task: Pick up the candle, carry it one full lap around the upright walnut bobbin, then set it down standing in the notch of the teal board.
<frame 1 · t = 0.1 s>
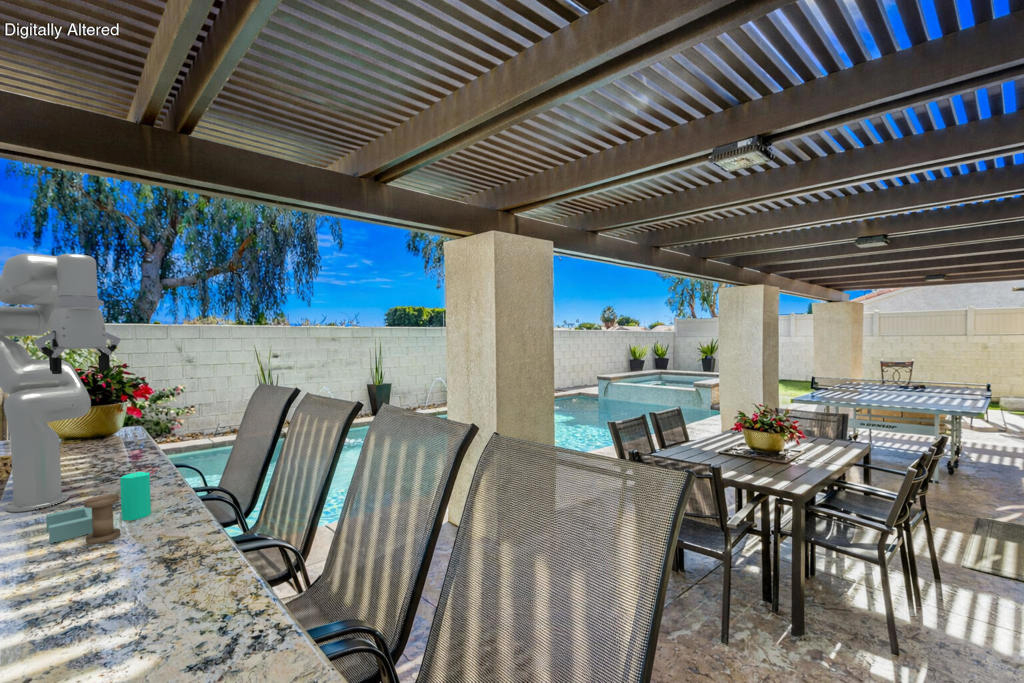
hand: (81, 372, 123), 37 cm above the outdoor bar counter, tool pointing down, fingers open, 9 cm apart
candle: (136, 516, 123), on the outdoor bar counter
bobbin: (103, 538, 110), on the outdoor bar counter
notch board: (74, 530, 115), on the outdoor bar counter
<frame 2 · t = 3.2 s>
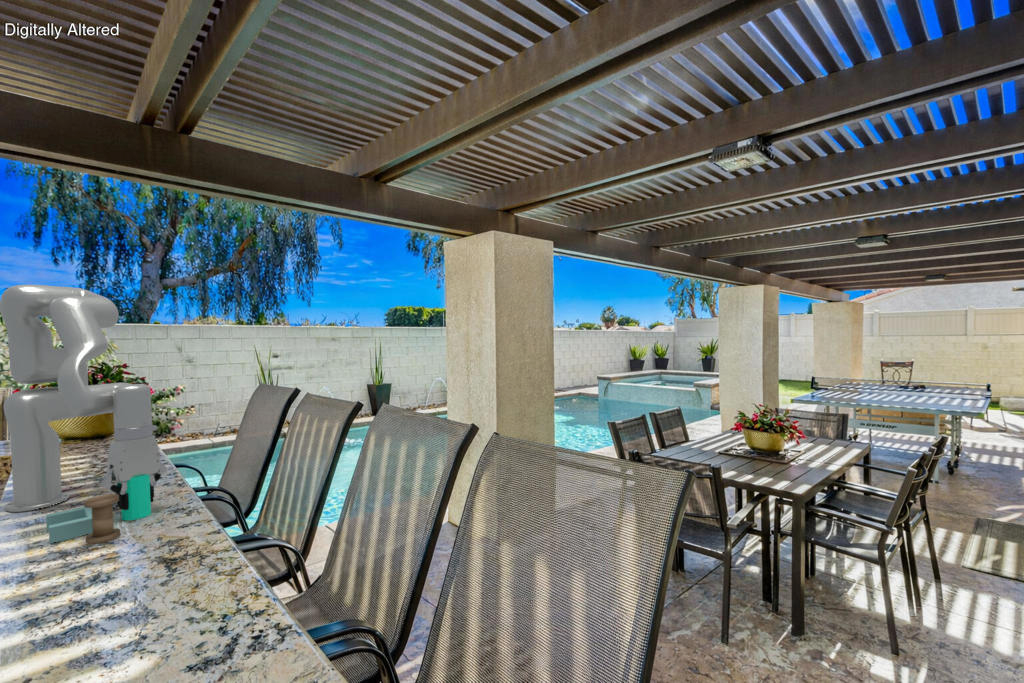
hand: (136, 504, 123), 3 cm above the outdoor bar counter, tool pointing down, fingers closed on candle, 4 cm apart
candle: (136, 516, 123), on the outdoor bar counter, touching gripper
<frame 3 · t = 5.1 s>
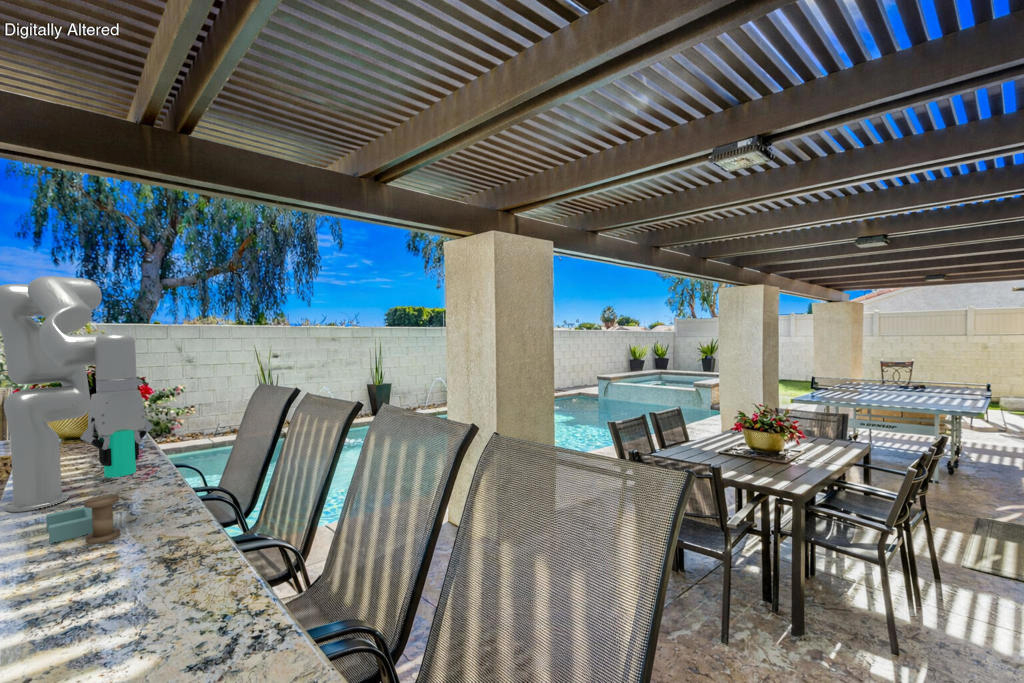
hand: (120, 461, 116), 16 cm above the outdoor bar counter, tool pointing down, fingers closed on candle, 4 cm apart
candle: (120, 474, 116), point 12 cm above the outdoor bar counter, touching gripper
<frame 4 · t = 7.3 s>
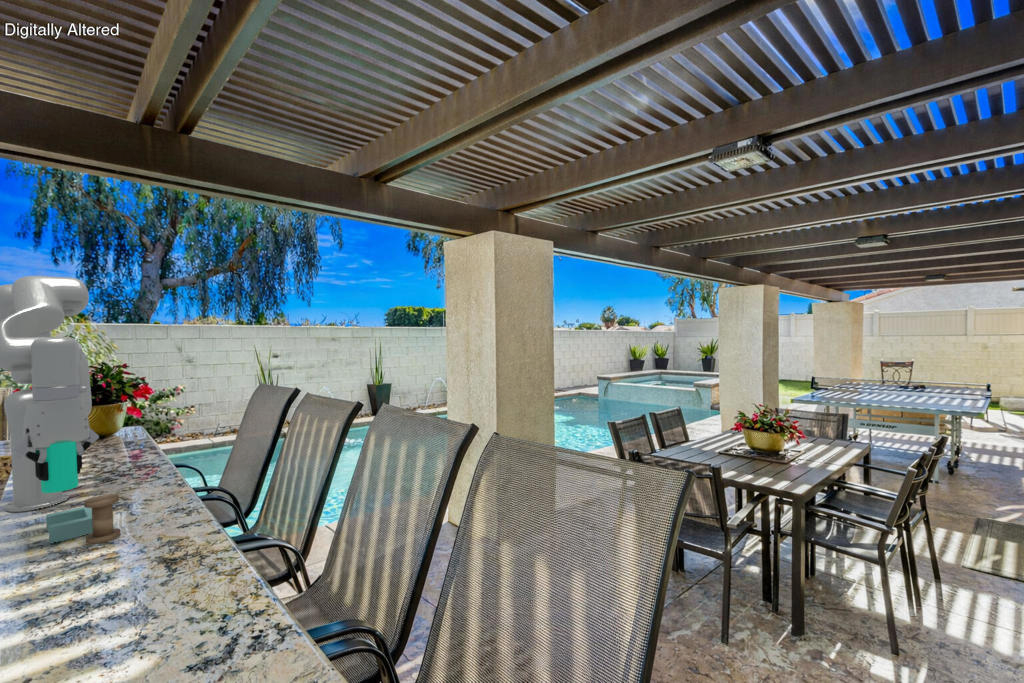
hand: (59, 475, 107), 15 cm above the outdoor bar counter, tool pointing down, fingers closed on candle, 4 cm apart
candle: (60, 489, 107), point 12 cm above the outdoor bar counter, touching gripper
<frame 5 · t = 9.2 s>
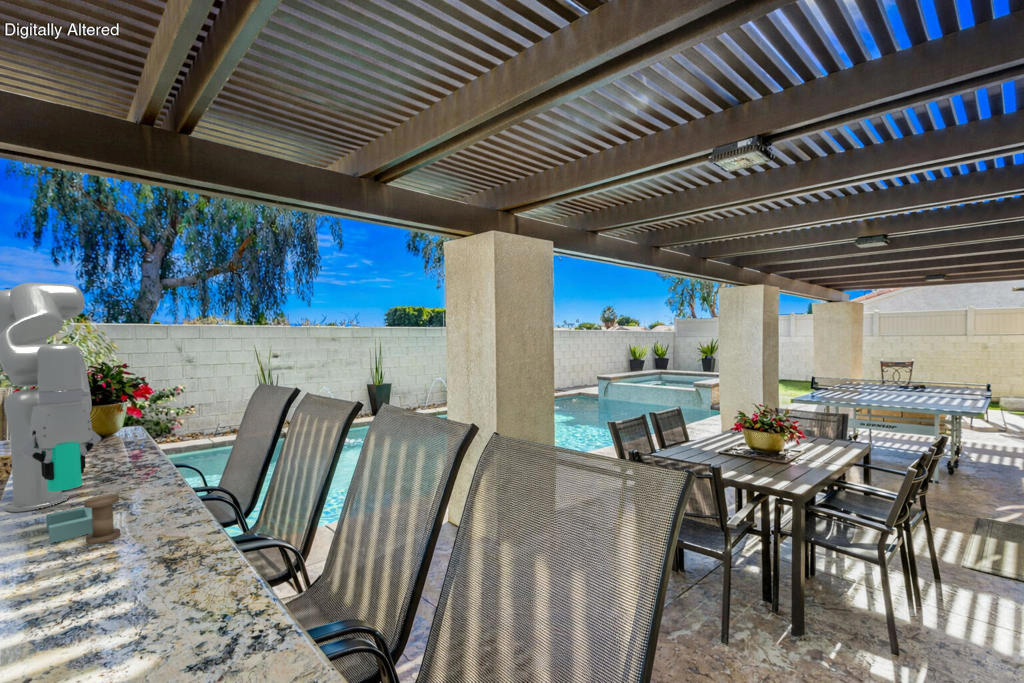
hand: (64, 475, 113), 13 cm above the outdoor bar counter, tool pointing down, fingers closed on candle, 4 cm apart
candle: (65, 488, 113), point 10 cm above the outdoor bar counter, touching gripper
when the fingers open (4 cm above the outdoor bar counter, at t = 11.1 s): candle drops 1 cm, on the outdoor bar counter.
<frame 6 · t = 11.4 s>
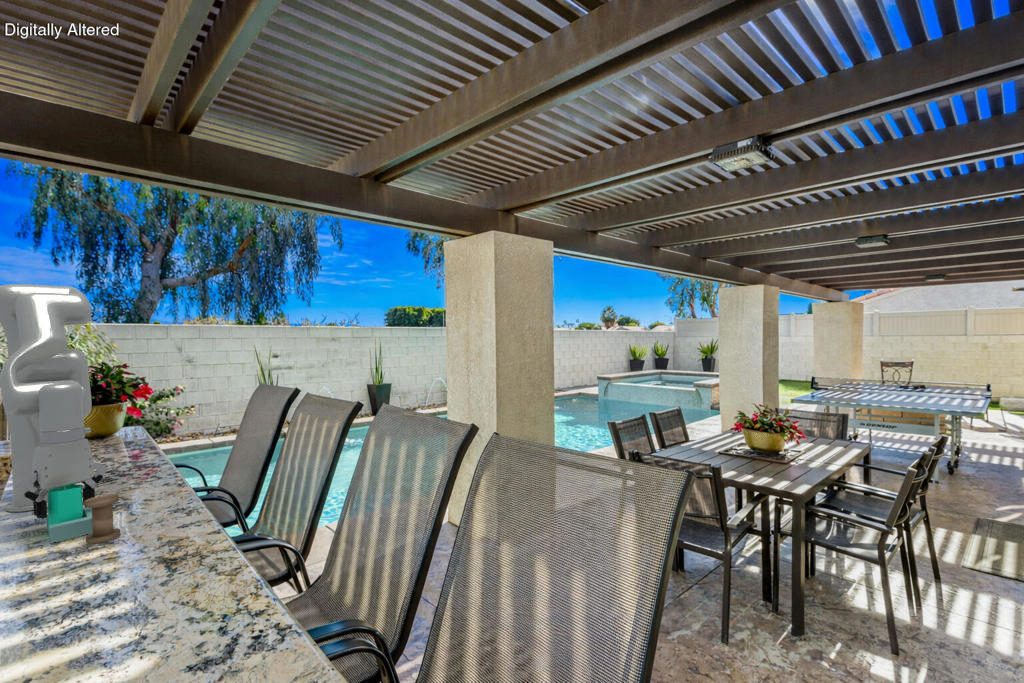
hand: (65, 510, 114), 5 cm above the outdoor bar counter, tool pointing down, fingers open, 8 cm apart
candle: (66, 532, 114), on the outdoor bar counter
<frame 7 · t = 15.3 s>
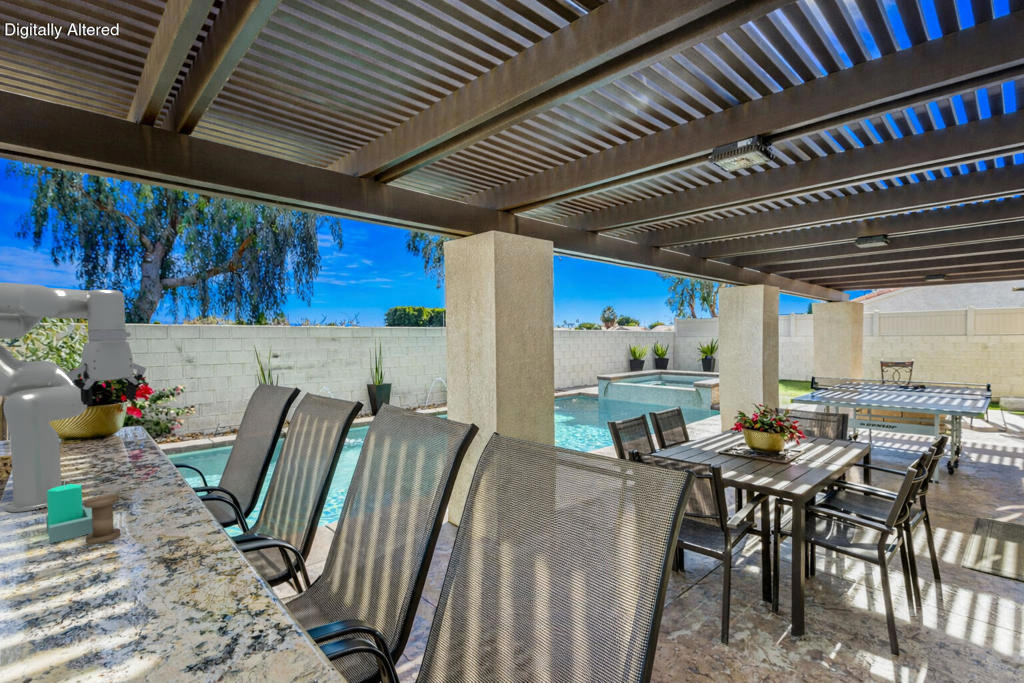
hand: (109, 401, 128), 28 cm above the outdoor bar counter, tool pointing down, fingers open, 9 cm apart
nothing on the outdoor bar counter moved.
at the end: candle 0.1 cm from the target spot, on the outdoor bar counter; candle tilted 0°; the gripper is holding nothing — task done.
